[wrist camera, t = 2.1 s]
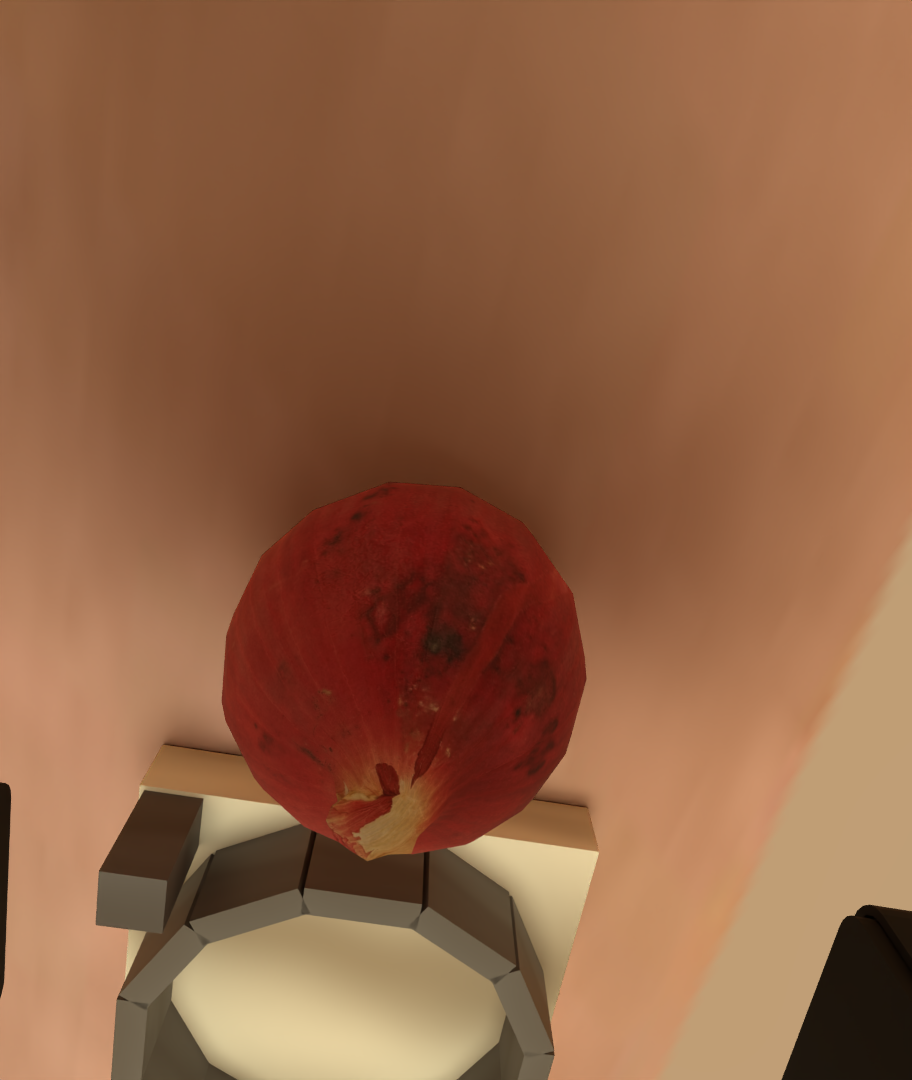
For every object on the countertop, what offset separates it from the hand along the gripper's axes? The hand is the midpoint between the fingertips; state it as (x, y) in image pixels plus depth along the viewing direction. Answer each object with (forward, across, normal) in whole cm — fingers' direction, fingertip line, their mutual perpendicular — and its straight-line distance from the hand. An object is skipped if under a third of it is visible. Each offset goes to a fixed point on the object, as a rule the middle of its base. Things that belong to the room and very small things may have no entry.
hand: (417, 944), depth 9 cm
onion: (+9, +1, -1) cm, 9 cm away
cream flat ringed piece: (+9, +1, +13) cm, 16 cm away
